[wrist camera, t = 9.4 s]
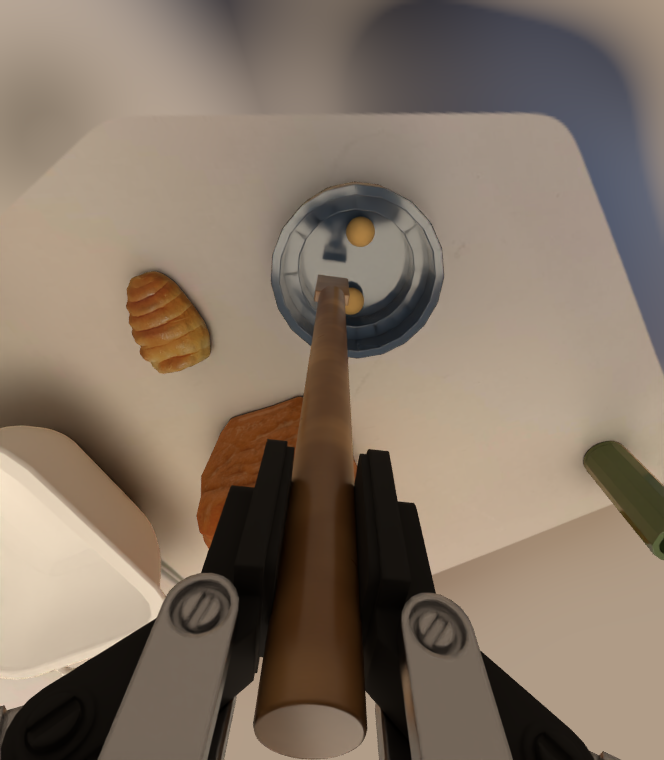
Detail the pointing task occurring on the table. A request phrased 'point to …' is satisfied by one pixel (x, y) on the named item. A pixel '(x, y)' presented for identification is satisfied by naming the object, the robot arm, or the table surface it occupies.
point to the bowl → (360, 265)
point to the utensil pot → (630, 491)
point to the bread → (243, 457)
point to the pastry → (166, 323)
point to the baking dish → (67, 556)
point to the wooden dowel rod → (318, 567)
